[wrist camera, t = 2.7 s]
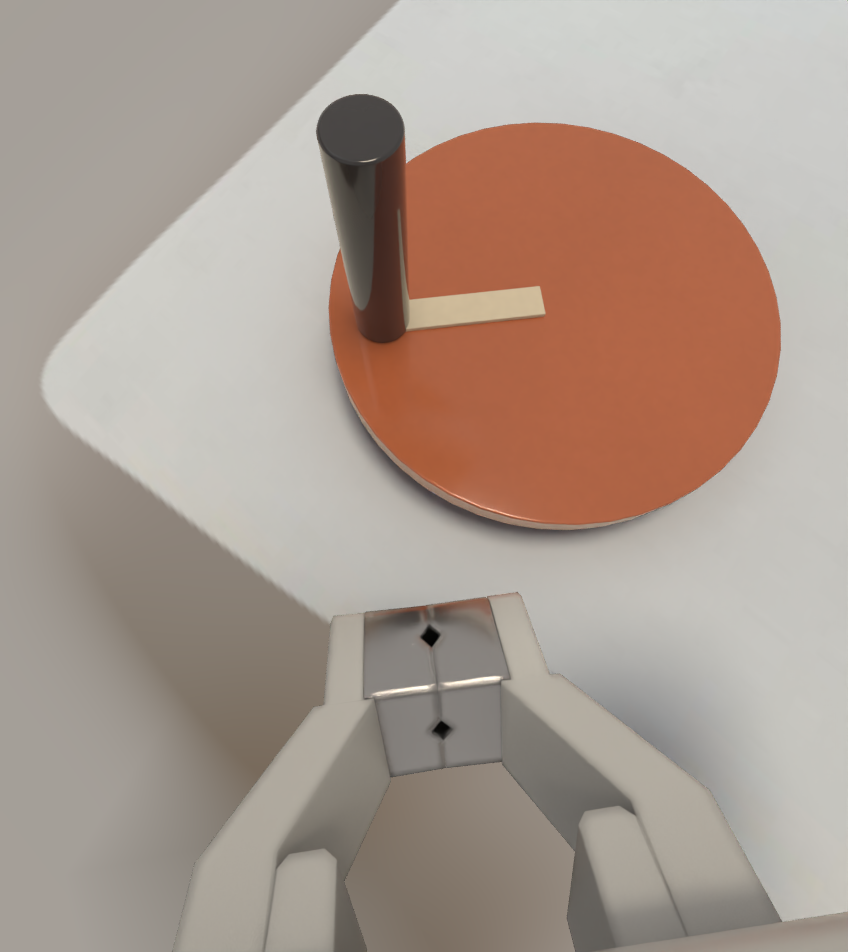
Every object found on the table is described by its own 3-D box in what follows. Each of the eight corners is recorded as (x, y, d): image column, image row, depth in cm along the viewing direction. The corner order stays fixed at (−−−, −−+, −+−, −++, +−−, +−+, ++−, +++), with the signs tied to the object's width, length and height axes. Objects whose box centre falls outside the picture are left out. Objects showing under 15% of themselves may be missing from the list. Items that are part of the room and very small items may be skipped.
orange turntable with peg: (533, 631, 18) (645, 647, 9) (248, 289, 21) (126, 55, 12) (850, 347, 21) (1172, 148, 12) (557, 85, 24) (639, -225, 15)
